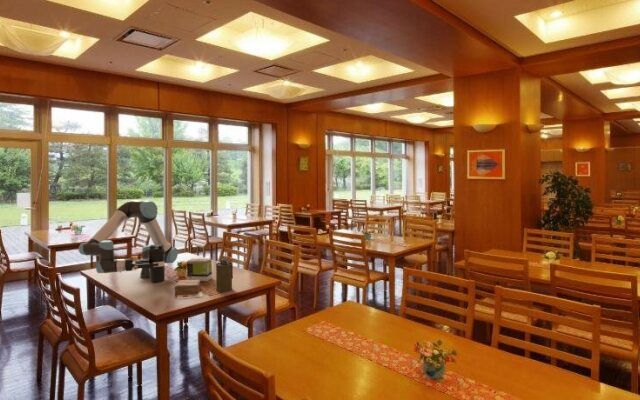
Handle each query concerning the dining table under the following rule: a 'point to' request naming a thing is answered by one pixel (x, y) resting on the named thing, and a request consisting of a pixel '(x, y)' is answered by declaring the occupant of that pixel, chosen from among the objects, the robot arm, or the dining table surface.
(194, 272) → the tea box
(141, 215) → the robot arm
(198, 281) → the plinth
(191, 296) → the page
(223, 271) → the canister
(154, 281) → the water bottle
